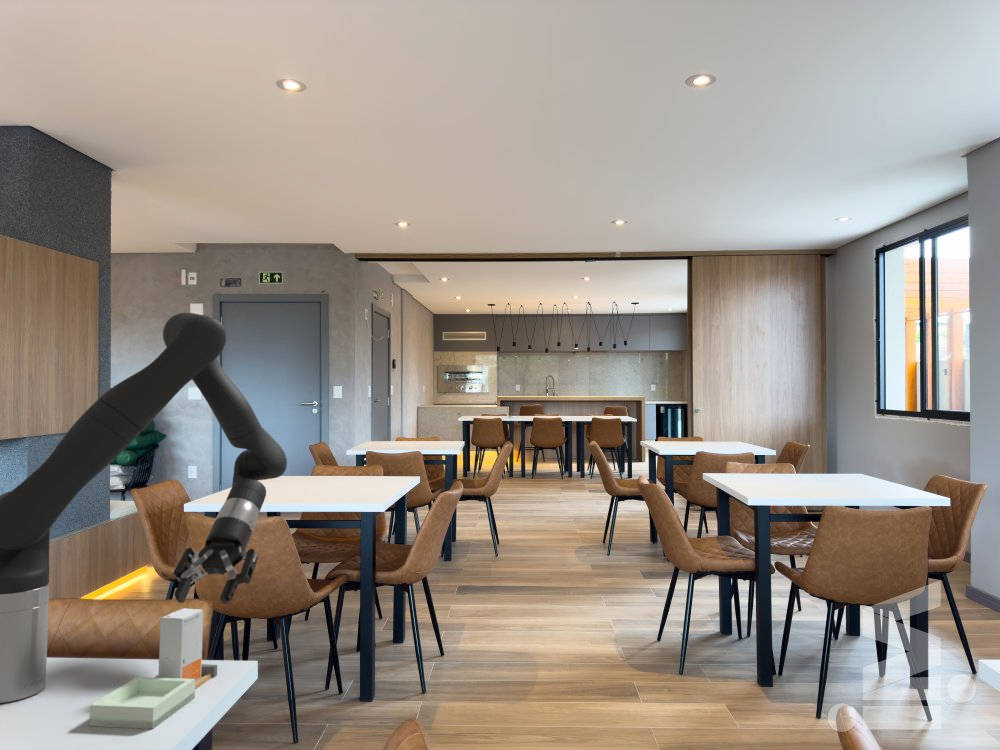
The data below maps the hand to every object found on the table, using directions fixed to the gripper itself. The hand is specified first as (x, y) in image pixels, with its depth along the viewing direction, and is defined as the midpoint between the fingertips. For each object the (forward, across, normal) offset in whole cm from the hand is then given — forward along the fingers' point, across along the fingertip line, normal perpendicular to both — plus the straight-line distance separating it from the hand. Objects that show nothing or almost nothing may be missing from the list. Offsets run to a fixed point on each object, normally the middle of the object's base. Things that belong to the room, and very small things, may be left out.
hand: (201, 601), depth 123 cm
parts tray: (+20, 0, -3) cm, 21 cm away
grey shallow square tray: (+13, 0, +4) cm, 14 cm away
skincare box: (+13, 0, +4) cm, 14 cm away
